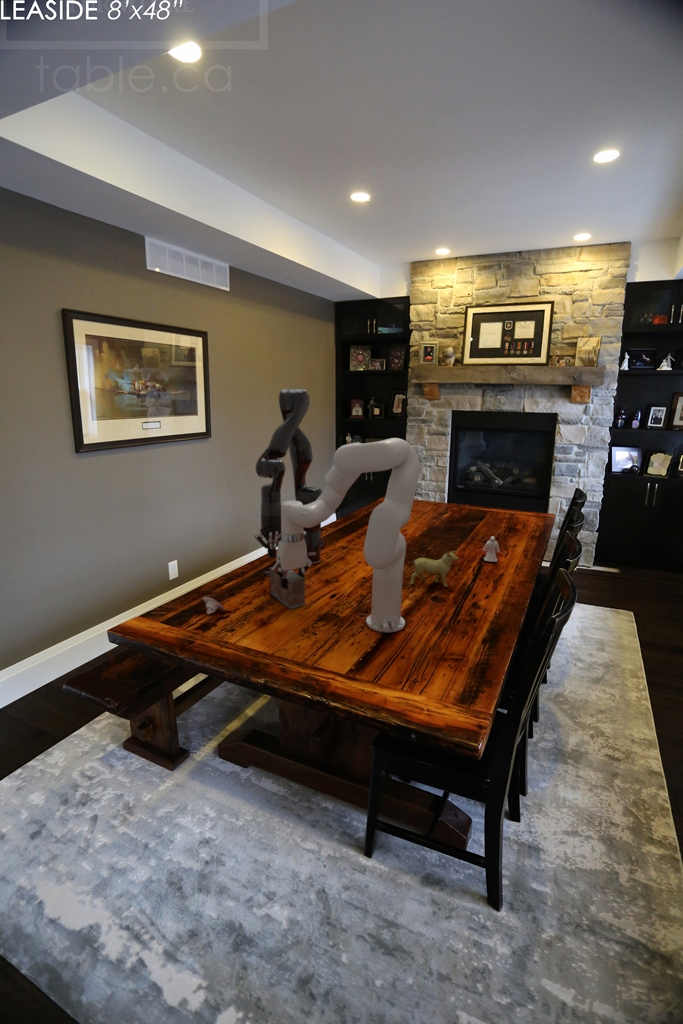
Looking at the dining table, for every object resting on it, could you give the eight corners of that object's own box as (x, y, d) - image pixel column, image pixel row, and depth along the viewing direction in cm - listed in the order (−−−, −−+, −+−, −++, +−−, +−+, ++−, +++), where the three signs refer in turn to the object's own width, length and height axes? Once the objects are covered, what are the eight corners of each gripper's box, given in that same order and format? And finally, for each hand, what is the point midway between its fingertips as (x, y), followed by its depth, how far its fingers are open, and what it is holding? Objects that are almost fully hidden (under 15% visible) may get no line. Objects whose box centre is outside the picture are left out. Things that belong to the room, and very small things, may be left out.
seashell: (209, 622, 169) (193, 604, 168) (220, 611, 173) (205, 594, 172) (217, 618, 163) (201, 599, 162) (228, 607, 167) (213, 589, 166)
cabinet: (270, 593, 185) (270, 567, 182) (284, 590, 188) (284, 565, 186) (290, 608, 172) (290, 581, 170) (304, 605, 175) (304, 578, 173)
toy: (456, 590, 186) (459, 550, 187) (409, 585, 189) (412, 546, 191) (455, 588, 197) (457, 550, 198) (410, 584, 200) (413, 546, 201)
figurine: (481, 562, 222) (483, 536, 219) (482, 556, 230) (484, 531, 227) (499, 564, 220) (501, 538, 217) (499, 558, 228) (501, 533, 225)
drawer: (263, 584, 191) (262, 563, 189) (274, 581, 194) (273, 561, 192) (287, 602, 175) (286, 580, 173) (298, 599, 178) (298, 577, 176)
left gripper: (282, 508, 190) (283, 552, 194) (250, 512, 182) (251, 557, 187) (292, 512, 184) (292, 557, 188) (258, 517, 176) (259, 563, 181)
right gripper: (308, 530, 179) (308, 578, 183) (264, 537, 169) (265, 587, 174) (319, 536, 173) (319, 584, 177) (274, 543, 163) (275, 594, 168)
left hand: (271, 557), depth 187 cm, fingers closed
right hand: (292, 585), depth 175 cm, fingers closed on cabinet, 5 cm apart
